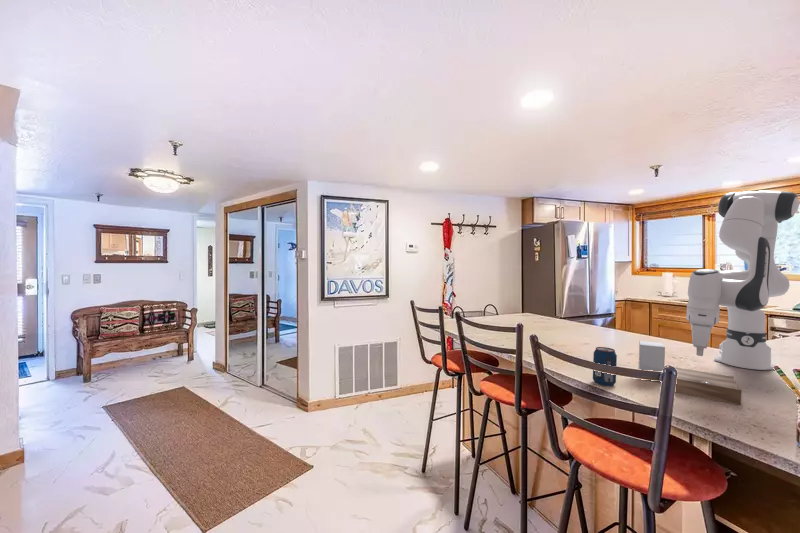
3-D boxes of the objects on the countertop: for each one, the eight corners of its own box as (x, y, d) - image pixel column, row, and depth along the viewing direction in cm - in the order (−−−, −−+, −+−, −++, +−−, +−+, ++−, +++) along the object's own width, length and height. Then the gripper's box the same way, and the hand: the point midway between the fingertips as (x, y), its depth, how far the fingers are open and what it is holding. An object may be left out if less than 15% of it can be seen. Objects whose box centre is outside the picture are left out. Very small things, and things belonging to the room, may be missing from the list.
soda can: (601, 379, 130) (602, 345, 130) (620, 385, 124) (621, 350, 124) (588, 381, 127) (589, 347, 127) (606, 388, 121) (608, 352, 121)
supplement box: (662, 377, 134) (663, 342, 133) (664, 383, 127) (665, 346, 127) (637, 373, 138) (639, 340, 137) (638, 379, 131) (639, 344, 131)
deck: (675, 374, 138) (676, 362, 138) (733, 383, 128) (733, 370, 128) (673, 392, 119) (674, 378, 119) (740, 405, 109) (741, 390, 109)
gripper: (692, 310, 138) (689, 346, 139) (689, 319, 122) (686, 360, 123) (714, 312, 134) (711, 350, 135) (714, 322, 118) (711, 364, 119)
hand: (699, 354), depth 129 cm, fingers closed
